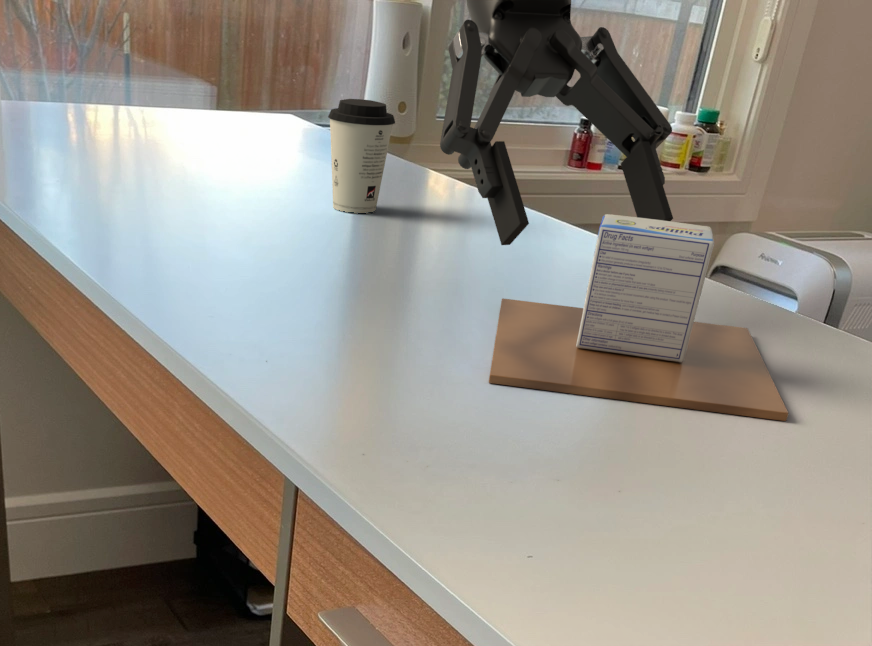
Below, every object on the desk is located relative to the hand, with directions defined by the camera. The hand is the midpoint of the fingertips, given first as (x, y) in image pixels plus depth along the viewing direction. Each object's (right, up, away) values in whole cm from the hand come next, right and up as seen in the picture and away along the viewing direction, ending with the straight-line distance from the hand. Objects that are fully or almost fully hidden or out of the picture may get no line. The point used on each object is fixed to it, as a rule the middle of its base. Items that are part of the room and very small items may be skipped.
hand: (589, 232), depth 84 cm
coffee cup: (-17, +18, +35) cm, 43 cm away
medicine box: (+3, -9, -1) cm, 10 cm away
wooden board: (+3, -10, -1) cm, 10 cm away
